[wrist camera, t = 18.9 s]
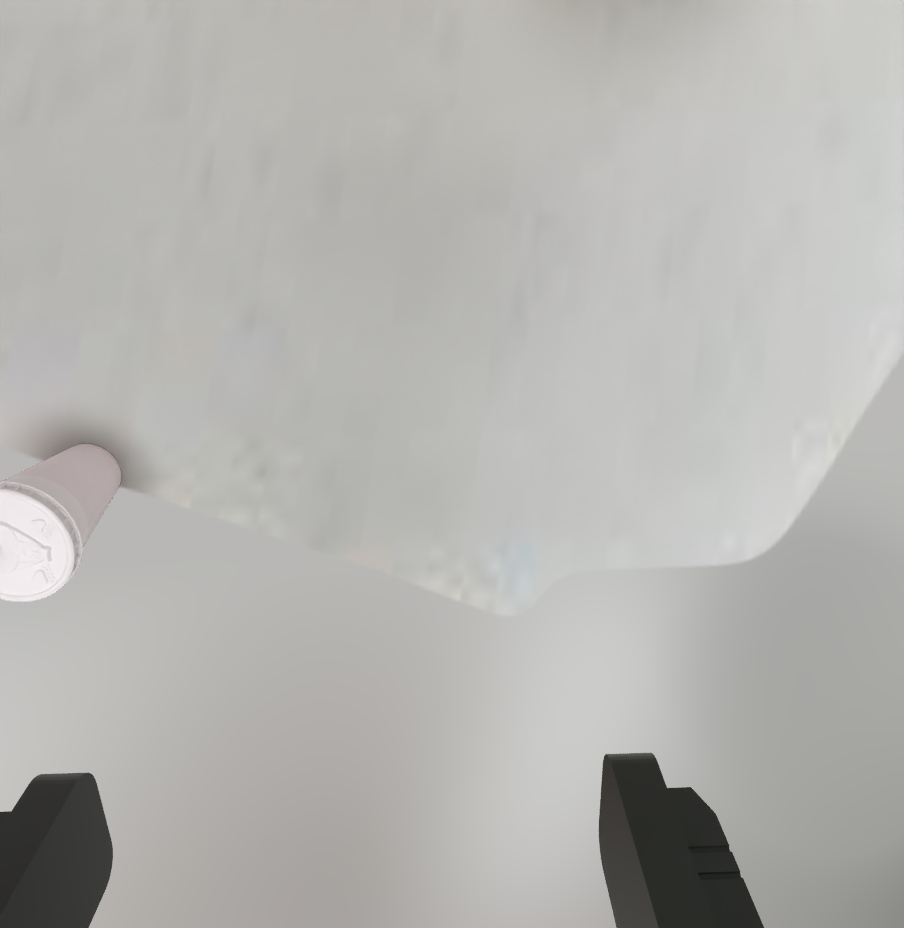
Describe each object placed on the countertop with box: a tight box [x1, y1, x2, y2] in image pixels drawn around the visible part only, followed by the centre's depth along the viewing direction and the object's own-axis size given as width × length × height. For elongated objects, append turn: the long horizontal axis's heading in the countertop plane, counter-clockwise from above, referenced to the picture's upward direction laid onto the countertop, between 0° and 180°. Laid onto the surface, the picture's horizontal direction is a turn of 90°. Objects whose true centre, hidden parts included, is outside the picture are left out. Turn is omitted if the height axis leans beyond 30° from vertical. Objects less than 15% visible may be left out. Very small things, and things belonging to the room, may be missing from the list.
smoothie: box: [0, 444, 121, 602], centre depth 40 cm, size 6×6×14 cm
